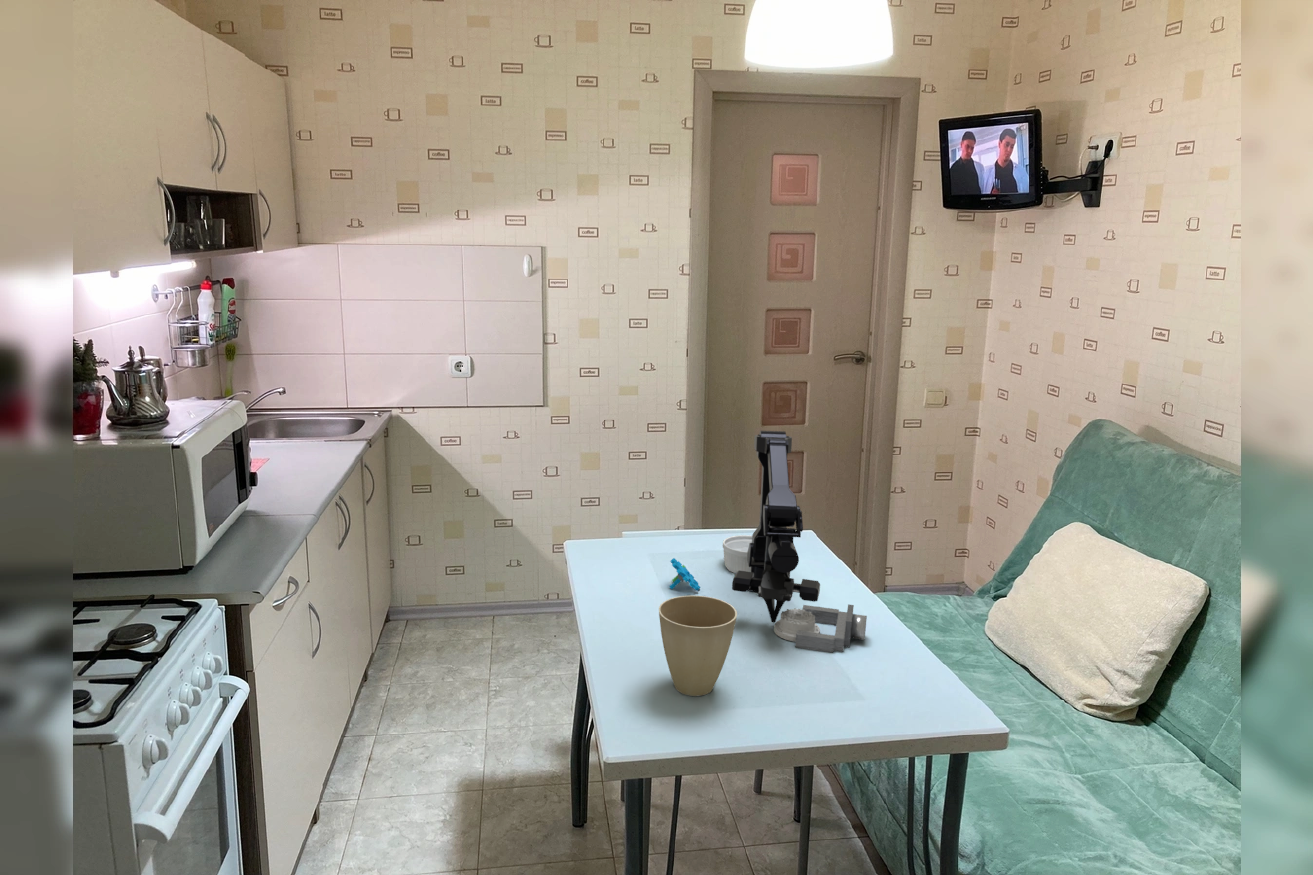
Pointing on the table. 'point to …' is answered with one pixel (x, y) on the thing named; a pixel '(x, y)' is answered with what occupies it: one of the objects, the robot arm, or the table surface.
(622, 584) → the table surface
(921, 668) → the table surface
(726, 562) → the ramekin
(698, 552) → the table surface
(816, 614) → the clevis bracket
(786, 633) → the mechanical component
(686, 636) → the plant pot
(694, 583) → the gear
